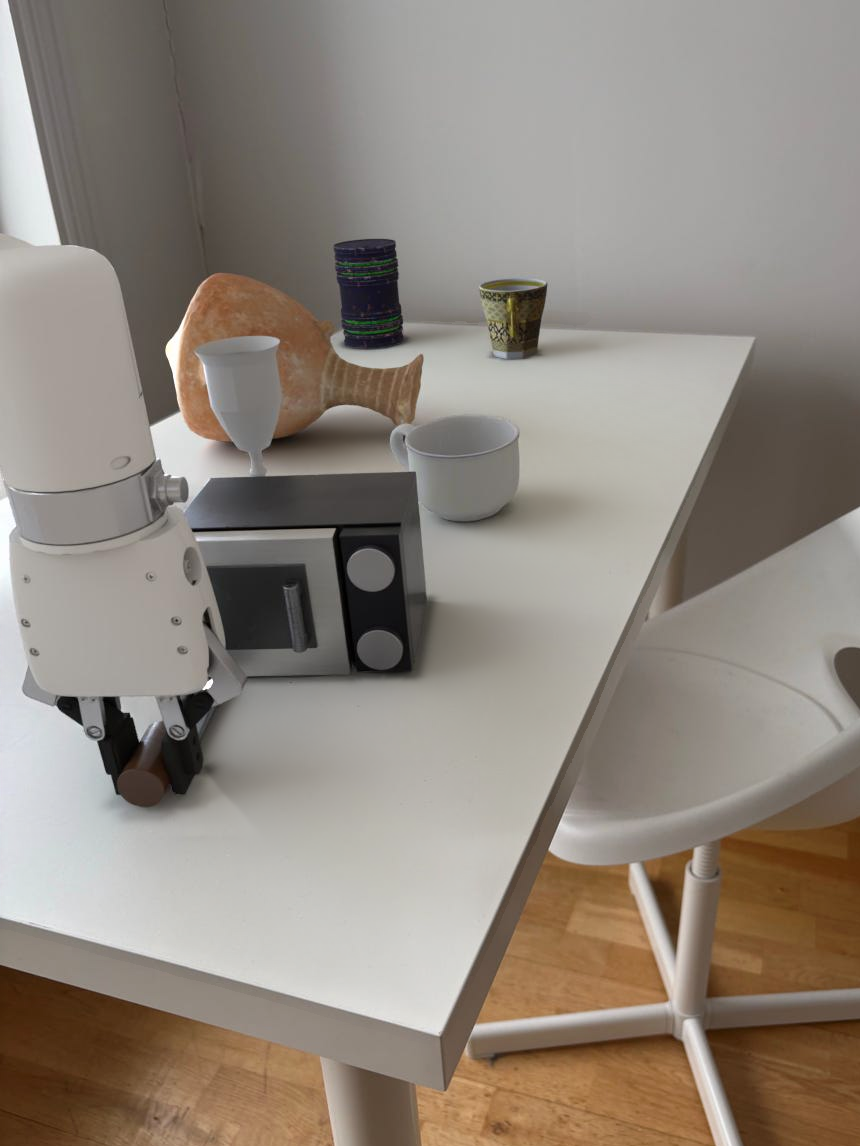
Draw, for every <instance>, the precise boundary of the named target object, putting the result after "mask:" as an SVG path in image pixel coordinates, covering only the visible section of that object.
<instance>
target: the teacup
mask: <svg viewBox="0 0 860 1146" xmlns="http://www.w3.org/2000/svg"><path fill="white" fill-rule="evenodd" d="M403 434H404V435H406V437H405V438H404V441H403V437H404V435H403ZM519 438H520V429H519V427H518V425H517V424H516V423H515V422H513V421H511V420H510V419H507V418H504V417H502V416H497V415H492V414H482V413H463V414H453V415H446V416H441V417H438V418H437V417H436V418H434V419H430V420H428V421H425V422H423V423H421V424H419V425H416V426H415V425H414V424H412V423H411V424H401V425H399V426H396V427H394V429H393V430H392V431H391V433H390V438H389V445H390V448H391V452H392V454H393V456H394V458H395V459H396V461H397V462H398V463H399V464H400V465H401V466H402V467H403V468H404V469H405V470H407V472H413V471H415V472H416V479H417V481H416V482H417V491H418V503H419V504H420V505H421V506H422V507H423V508H425V509H426V510H428V511H429V512H431V513H433V514H434V515H435V516H437V517H438V518H441V519H443V520H446V521H450V522H475V521H480V520H484V519H486V518H490V517H492V516H494V515H495V514H497V513H498V512H500V511H501V510H502V508H504V506H506V505H507V504H508V503H509V502H510V501H511V500H512V499H513V498H514V496H515V495H516V493H517V491H518V488H519V482H520V445H519Z"/></svg>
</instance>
